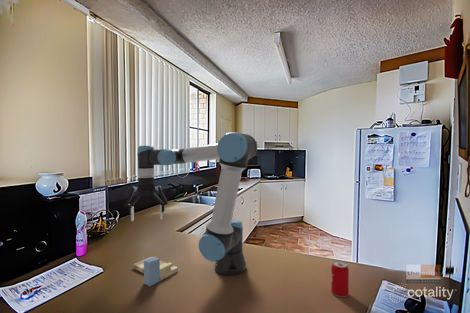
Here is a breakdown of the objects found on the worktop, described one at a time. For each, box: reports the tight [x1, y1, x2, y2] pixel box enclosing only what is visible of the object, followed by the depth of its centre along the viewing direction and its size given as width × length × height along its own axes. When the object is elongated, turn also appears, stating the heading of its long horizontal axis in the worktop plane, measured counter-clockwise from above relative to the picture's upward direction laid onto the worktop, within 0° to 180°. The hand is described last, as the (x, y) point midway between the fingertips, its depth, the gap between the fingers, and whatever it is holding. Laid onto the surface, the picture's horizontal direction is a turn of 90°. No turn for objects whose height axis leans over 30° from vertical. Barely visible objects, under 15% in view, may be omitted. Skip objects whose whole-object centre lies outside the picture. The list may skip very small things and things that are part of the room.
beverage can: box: [330, 260, 350, 298], centre depth 96 cm, size 6×6×12 cm
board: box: [132, 256, 179, 282], centre depth 116 cm, size 20×10×2 cm, turn 55°
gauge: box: [143, 255, 174, 287], centre depth 108 cm, size 4×13×10 cm, turn 145°
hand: (147, 219), depth 122 cm, fingers open, 13 cm apart
